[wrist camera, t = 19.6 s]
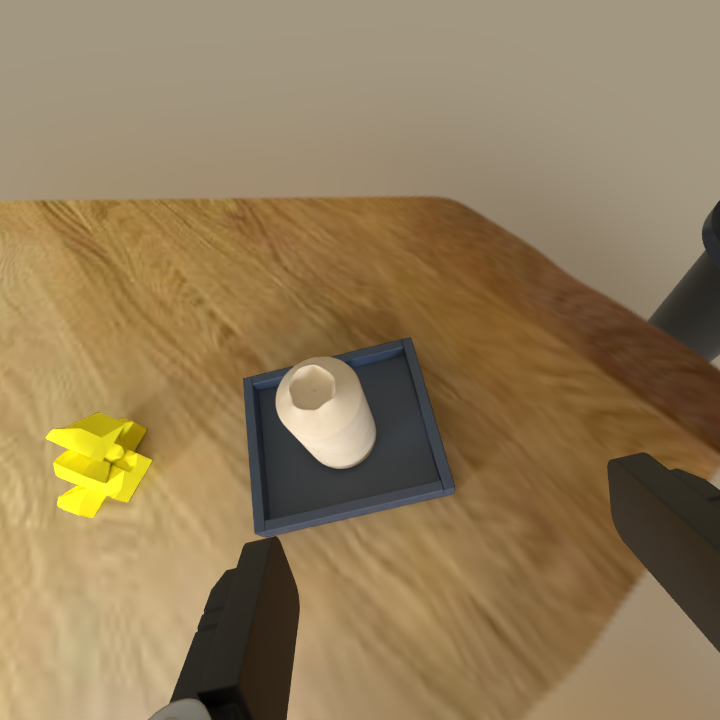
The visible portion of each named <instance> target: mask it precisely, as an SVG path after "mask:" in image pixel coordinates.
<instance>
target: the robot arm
mask: <svg viewBox="0 0 720 720" xmlns="http://www.w3.org/2000/svg"><path fill="white" fill-rule="evenodd" d="M607 468H608V480H609V491H610V502H611V513H612V518H613V522H614V525H615V527H616V530H617V532H618V534H619V535H620V537H621V539H622V540H623V541H624V543H625V544H626V545H627V546H628V547H629V549H630V550H631V551H632V552H633V553H634V554H635V556H636V557H637V558H638V559H639V560H640V561H641V562H642V564H643V565H644V566H645V567H646V568H647V569H648V571H649V572H650V573H651V574H652V575H653V576H654V577H655V579H656V580H657V581H658V582H659V583H660V584H661V585H662V587H663V588H664V589H665V590H666V591H667V592H668V594H669V595H670V596H671V597H672V598H673V599H674V601H675V602H676V603H677V604H678V605H679V606H680V607H681V609H682V610H683V611H684V612H685V613H686V614H687V615H688V617H689V618H690V619H691V620H692V621H693V622H694V623H695V625H696V626H697V627H698V628H699V629H700V630H701V632H702V633H703V634H704V635H705V636H706V637H707V638H708V640H709V641H710V642H711V643H712V644H713V646H714V647H715V648H716V649H717V650H718V651H719V652H720V490H719V489H718V488H716V487H715V486H713V485H712V484H711V483H709V482H708V481H706V480H705V479H703V478H700V477H698V476H695V475H693V474H690V473H688V472H685V471H683V470H680V469H673V470H668V469H667V468H666V467H665V466H663V465H662V464H661V463H659V462H658V461H657V460H655V459H654V458H653V457H651V456H650V455H649V454H647V453H638V454H634V455H629V456H625V457H621V458H616V459H612V460H610V461H609V462H608V467H607ZM299 612H300V604H299V595H298V589H297V585H296V582H295V580H294V577H293V574H292V572H291V569H290V566H289V564H288V561H287V558H286V556H285V553H284V550H283V547H282V545H281V542H280V540H279V539H278V537H276V536H274V537H270V538H266V539H261V540H257V541H253V542H249V543H246V544H245V545H244V546H243V549H242V552H241V555H240V558H239V561H238V565H237V568H235V569H230V570H226V572H225V573H224V574H223V575H222V577H221V578H220V579H219V581H218V582H217V583H216V585H215V586H214V587H213V589H212V590H211V593H210V595H209V598H208V601H207V603H206V606H205V609H204V614H203V615H202V617H201V619H200V622H199V625H198V632H196V633H195V636H194V638H193V641H192V644H191V646H190V649H189V652H188V654H187V657H186V660H185V663H184V665H183V668H182V671H181V673H180V676H179V679H178V681H177V684H176V687H175V690H174V692H173V695H172V698H171V700H170V703H169V704H168V705H166V706H165V707H163V708H162V709H160V710H159V711H157V712H156V713H155V714H154V715H153V716H152V717H150V718H149V719H148V720H286V718H287V710H288V702H289V694H290V686H291V678H292V670H293V662H294V653H295V645H296V637H297V629H298V621H299Z"/></svg>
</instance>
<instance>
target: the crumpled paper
mask: <svg viewBox="0 0 720 720" xmlns="http://www.w3.org/2000/svg"><path fill="white" fill-rule="evenodd" d="M146 431H147V429H146V428H144V427H142V426H140V425H138V424H136V423H135V422H132V421H129V420H127V419H125V418H121V419H119V420H115V419H113V418H111V417H109V416H106V415H104V414H102V413H100V412H98V413H95V414H93V415H91V416H89V417H86V418H84V419H82V420H80V421H77V422H75V423H73V424H71V425H69V426H68V427H63V428H58V429H53V430H52V431H51V432H50V433H49V434H48V436H47V437H46V439H48V440H50V441H52V442H54V443H56V444H59V445H61V446H63V447H66V448H68V450H67V451H65V452H64V453H63V454H62V455H61V456H60V457H59V458H58V459H57V460H55V461H54V462H53V463H54V468H55V470H54V471H55V474H56V475H57V476H58V477H59V478H62V479H64V480H67V481H69V482H72V483H75V484H77V485H76V486H75V487H74V488H73V489H71V490H69V491H68V492H66V493H64V494H63V495H61V496H60V497H58V507H60V508H62V509H64V510H66V511H69V512H71V513H74V514H77V515H80V516H85V517H90V518H93V517H94V515H95V514H96V512H97V511H98V509H99V507H100V506H101V504H102V502H103V501H104V499H105V498H106V496H107V495H108V496H110V497H112V498H114V499H116V500H120V501H123V502H127V503H128V501H129V499H130V498H131V496H132V494H133V493H134V491H135V489H136V488H137V486H138V484H139V483H140V481H141V479H142V478H143V476H144V474H145V472H146V471H147V469H148V467H149V466H150V464H151V462H152V461H153V460H151V459H149V458H147V457H144V456H142V455H140V454H138V453H136V452H134V451H135V449H136V447H137V446H138V444H139V442H140V441H141V439H142V438H143V436H144V434H145V433H146Z"/></svg>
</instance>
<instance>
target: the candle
mask: <svg viewBox="0 0 720 720" xmlns="http://www.w3.org/2000/svg"><path fill="white" fill-rule="evenodd" d="M276 409H277V413H278V416H279V418H280V420H281V421H282V423H283V424H284V425H285V426H286V428H287V429H288V430H289V431H290V432H291V433H292V434H293V435H294V436H295V437H296V438H297V439H298V440H299V441H300V442H301V443H302V444H303V445H304V446H305V447H306V448H307V450H308V451H309V452H310V453H311V454H312V455H313V456H314V457H315V458H316V459H317V460H318V461H320V462H321V463H322V464H324V465H326V466H328V467H331V468H335V469H347V468H351V467H354V466H356V465H358V464H360V463H361V462H362V461H364V460H365V459H366V458H367V457H368V456H369V454H370V453H371V451H372V449H373V447H374V445H375V441H376V426H375V422H374V419H373V416H372V414H371V411H370V408H369V406H368V403H367V400H366V398H365V395H364V392H363V389H362V387H361V384H360V382H359V379H358V377H357V375H356V373H355V372H354V371H353V369H352V368H351V367H350V366H349V365H347V364H346V363H345V362H343V361H341V360H339V359H336V358H332V357H313V358H310V359H307V360H304V361H302V362H300V363H298V364H297V365H295V366H294V367H293V368H292V369H290V370H289V371H288V372H287V374H286V375H285V376H284V377H283V379H282V381H281V382H280V385H279V387H278V390H277V394H276Z"/></svg>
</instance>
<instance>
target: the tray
mask: <svg viewBox="0 0 720 720" xmlns="http://www.w3.org/2000/svg"><path fill="white" fill-rule="evenodd" d="M332 358H336V359H339V360H341V361H343V362H345V363H346V364H347V365H349V366H350V367H351V368H352V369H353V371H354V372H355V373H356V375H357V377H358V379H359V382H360V384H361V387H362V389H363V392H364V395H365V398H366V400H367V403H368V406H369V408H370V411H371V414H372V416H373V419H374V422H375V426H376V441H375V445H374V447H373V449H372V451H371V453H370V454H369V456H368V457H367V458H366V459H365V460H364V461H362V462H361V463H360V464H358V465H356V466H354V467H351V468H347V469H335V468H331V467H328V466H326V465H324V464H322V463H321V462H320V461H318V460H317V459H316V458H315V457H314V456H313V455H312V454H311V453H310V452H309V451H308V450H307V448H306V447H305V446H304V445H303V444H302V443H301V442H300V441H299V440H298V439H297V438H296V437H295V436H294V435H293V434H292V433H291V432H290V431H289V430H288V429H287V428H286V426H285V425H284V424H283V423H282V421H281V420H280V418H279V416H278V413H277V409H276V394H277V390H278V387H279V385H280V382H281V381H282V379H283V377H284V376H285V375H286V374H287V372H288V371H289V370H290V369H292V368H293V367H294V366H292V367H288V368H284V369H280V370H276V371H272V372H268V373H264V374H260V375H256V376H252V377H248V378H244V379H243V386H244V399H245V412H246V425H247V439H248V452H249V465H250V478H251V491H252V505H253V518H254V531H255V534H256V535H259V536H263V537H269V536H273V535H278V534H282V533H286V532H291V531H295V530H299V529H304V528H308V527H312V526H317V525H321V524H325V523H330V522H334V521H338V520H343V519H347V518H351V517H356V516H360V515H364V514H369V513H373V512H377V511H382V510H386V509H390V508H394V507H399V506H403V505H407V504H412V503H416V502H420V501H425V500H429V499H433V498H438V497H442V496H446V495H451V494H454V490H455V485H454V482H453V478H452V475H451V471H450V468H449V465H448V461H447V458H446V454H445V451H444V448H443V444H442V441H441V437H440V434H439V431H438V427H437V424H436V420H435V417H434V414H433V410H432V407H431V403H430V400H429V397H428V393H427V390H426V386H425V383H424V380H423V376H422V373H421V369H420V366H419V363H418V359H417V356H416V352H415V349H414V346H413V342H412V339H411V337H409V338H405V339H402V340H397V341H393V342H389V343H385V344H381V345H377V346H373V347H369V348H365V349H361V350H357V351H353V352H349V353H345V354H341V355H337V356H333V357H332Z"/></svg>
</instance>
